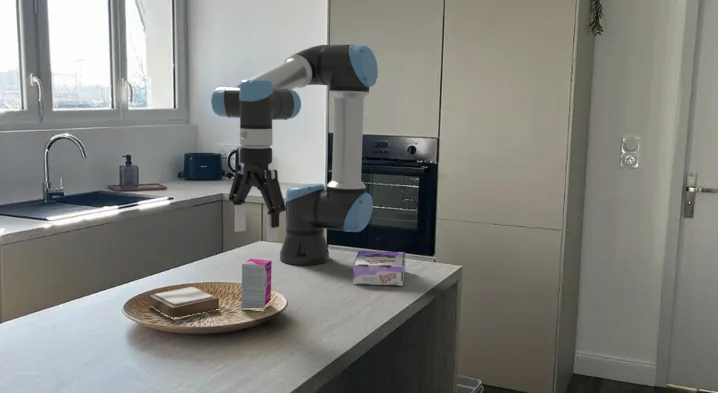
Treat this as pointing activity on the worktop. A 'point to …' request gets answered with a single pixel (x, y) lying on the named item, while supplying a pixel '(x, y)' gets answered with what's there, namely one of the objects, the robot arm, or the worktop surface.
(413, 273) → the worktop surface
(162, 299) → the stand
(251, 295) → the supplement box
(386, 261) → the candy box
